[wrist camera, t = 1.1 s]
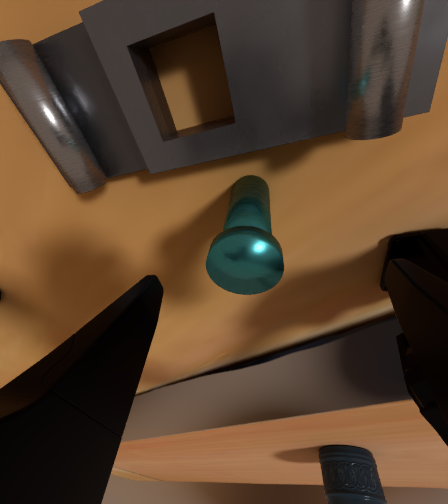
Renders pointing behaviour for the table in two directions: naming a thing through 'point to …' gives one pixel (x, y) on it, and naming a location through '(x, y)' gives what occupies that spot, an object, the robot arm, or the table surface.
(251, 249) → the pin
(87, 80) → the lower chain end
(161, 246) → the table surface
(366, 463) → the canister
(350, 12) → the plate
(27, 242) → the table surface
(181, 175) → the table surface
